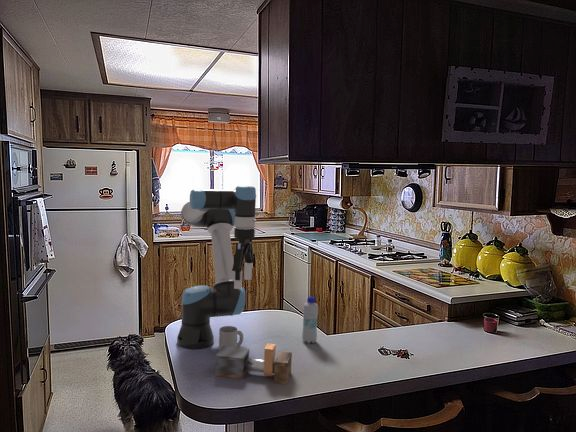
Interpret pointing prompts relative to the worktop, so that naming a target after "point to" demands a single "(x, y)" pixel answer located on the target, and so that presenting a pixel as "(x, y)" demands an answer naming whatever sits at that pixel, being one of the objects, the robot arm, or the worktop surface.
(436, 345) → the worktop surface
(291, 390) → the worktop surface
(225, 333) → the cup
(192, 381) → the worktop surface
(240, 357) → the sleeve and socket
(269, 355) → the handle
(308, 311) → the bottle
